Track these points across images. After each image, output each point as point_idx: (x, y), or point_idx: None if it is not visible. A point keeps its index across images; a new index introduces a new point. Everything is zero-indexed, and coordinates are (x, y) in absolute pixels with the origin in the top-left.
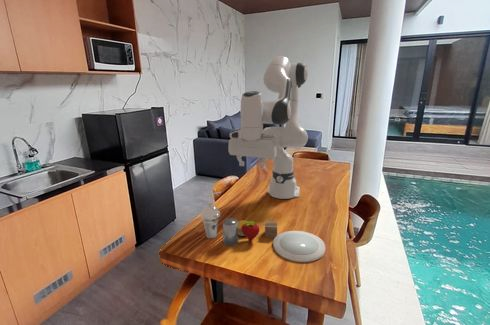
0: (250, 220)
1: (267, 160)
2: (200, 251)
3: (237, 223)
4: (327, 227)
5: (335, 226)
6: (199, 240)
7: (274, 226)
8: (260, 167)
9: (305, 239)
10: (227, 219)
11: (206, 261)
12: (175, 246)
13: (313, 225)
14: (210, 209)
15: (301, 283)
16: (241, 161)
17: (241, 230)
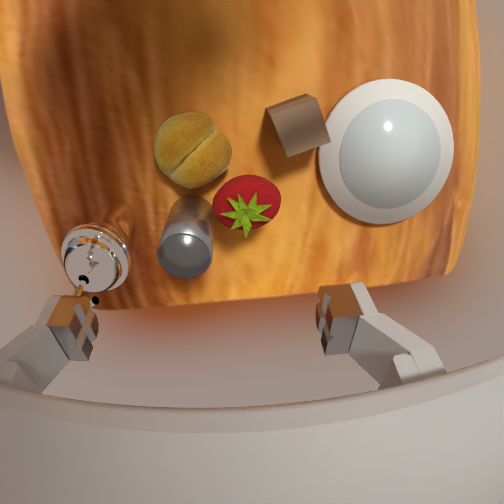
0: (238, 197)
1: (423, 350)
2: (153, 283)
3: (211, 248)
4: (446, 20)
5: (463, 12)
6: None
7: (319, 139)
8: (319, 329)
9: (409, 129)
10: (166, 251)
11: (193, 302)
12: None
13: (409, 14)
14: (101, 289)
15: (400, 272)
16: (57, 347)
17: (203, 184)
